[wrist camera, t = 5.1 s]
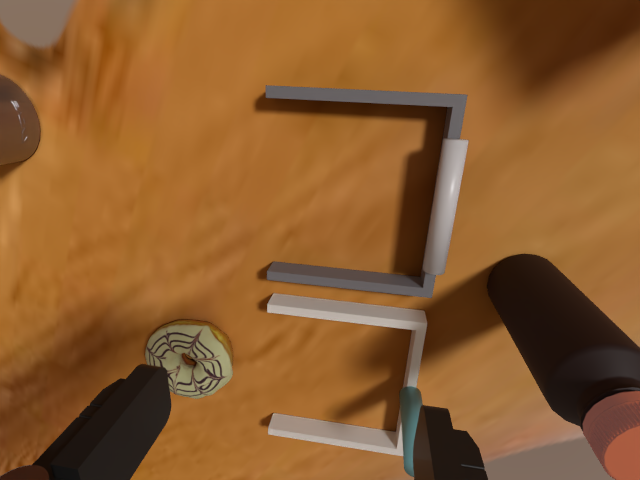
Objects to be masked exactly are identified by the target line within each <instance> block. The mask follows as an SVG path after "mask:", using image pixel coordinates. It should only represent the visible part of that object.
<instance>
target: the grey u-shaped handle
mask: <svg viewBox="0 0 640 480" xmlns="http://www.w3.org/2000/svg"><path fill="white" fill-rule="evenodd" d="M266 98H282V99H302V100H322V101H342V102H361V103H381V104H401V105H421V106H441V107H447V114H446V120H445V126H444V133H443V139H442V145H441V151H440V158H439V164H438V170H437V177H436V183H435V189H434V195H433V202H432V208H431V214H430V221H429V227H428V233H427V239H426V246H425V252H424V258H423V265H422V271H421V277H416V276H407V275H397V274H388V273H378V272H369V271H359V270H350V269H340V268H331V267H321V266H311V265H302V264H292V263H283V262H273V263H272V264H271V266H270V267H269V269H268V270H267V280H274V281H283V282H292V283H301V284H310V285H319V286H328V287H337V288H346V289H355V290H364V291H373V292H382V293H391V294H400V295H409V296H418V297H427V298H432V294H433V288H434V283H435V277H436V275H442V274H444V272H445V267H446V261H447V256H448V250H449V245H450V239H451V234H452V229H453V223H454V218H455V212H456V207H457V201H458V196H459V190H460V185H461V180H462V174H463V169H464V163H465V158H466V152H467V147H468V142H469V140H464V139H460V134H461V129H462V123H463V117H464V112H465V106H466V100H467V95H462V94H440V93H419V92H397V91H375V90H353V89H332V88H310V87H288V86H267V85H266Z"/></svg>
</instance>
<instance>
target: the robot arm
mask: <svg viewBox="0 0 640 480" xmlns="http://www.w3.org/2000/svg"><path fill="white" fill-rule="evenodd" d="M39 140H40V126H39V120H38V117H37V113H36V111H35V109H34V107H33V105H32V103H31V101H30V100H29V98H28V97H27V95H26V94H25V93H24V92H23V91H22V89H21V88H20V87H19V86H18V85H16V84H15V83H14V82H13V81H11V80H10V79H8V78H6V77H4V76H2V75H0V165H4V164H9V163H15V162H20V161H23V160H25V159H28V158H29V157H30V156H31V155H32V154H33V153H34V152H35V150H36V148H37V146H38V143H39ZM170 411H171V398H170V390H169V382H168V374H167V370H166V368H165V367H160V366H153V365H146V364H140V365H139V366H137V367H136V368H135V369H134V371H133V372H132V373H131V374H130V375H129V376H128V377H127V378H126V379H121V378H120V379H119V380H117V381H116V382H114V383H112V384H111V385H109V386H108V387H106V388H105V389H103V390H102V391H101V392H100V393H99V394H98V395H97V397H96V398H95V399H94V400H93V401H92V402H91V403H90V406H87V407H86V408H85V409H84V410H83V411H82V413H81V414H80V416H79V417H78V418H76V419H75V420H74V421H73V422H72V423H71V424H70V425H69V426H68V427H67V428H66V430H65V431H64V432H63V433H62V434H61V435H60V436H59V437H58V438H57V439H56V440H55V441H54V442H53V443H52V444H51V445H50V447H49V448H48V449H47V450H46V451H45V452H44V453H43V454H42V455H41V456H40V457H39V458H38V459H37V460H36V461H35V462H34V463H33V464H32V465H28V466H22V467H19V468H16V469H14V470H11V471H9V472H7V473H5V474H4V475H2V476H0V480H130V479H131V477H132V476H133V474H134V472H135V471H136V469H137V468H138V466H139V465H140V463H141V462H142V460H143V459H144V457H145V455H146V454H147V452H148V451H149V449H150V448H151V446H152V445H153V443H154V442H155V440H156V439H157V437H158V435H159V434H160V432H161V431H162V429H163V428H164V426H165V425H166V423H167V421H168V418H169V415H170ZM413 470H414V480H488V478H487V474H486V471H485V470H484V464H483V460H482V457H481V453H480V450H479V448H478V446H477V445H476V443H475V442H474V441H473V439H472V438H471V436H470V435H469V434H468V432H467V431H461V430H455V429H453V426H452V422H451V418H450V413H449V410H448V409H446V408H439V407H432V406H425V405H422V406H421V408H420V412H419V418H418V423H417V428H416V433H415V439H414V445H413Z"/></svg>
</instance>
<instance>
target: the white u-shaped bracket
mask: <svg viewBox="0 0 640 480" xmlns="http://www.w3.org/2000/svg"><path fill="white" fill-rule="evenodd" d="M267 312H269V313H277V314H286V315H294V316H302V317H310V318H318V319H327V320H335V321H343V322H351V323H359V324H368V325H376V326H384V327H392V328H400V329H408V330H412V334H411V340H410V346H409V353H408V359H407V365H406V371H405V378H404V384H403V388H402V389H401V390H400V393H399V397H400V409H399V415H398V422H397V428H396V432H393V431H387V430H380V429H374V428H367V427H361V426H355V425H348V424H342V423H335V422H329V421H322V420H316V419H310V418H303V417H297V416H290V415H284V414H277V413H273V415H272V418H271V421H270V424H269V427H268V434H270V435H276V436H282V437H288V438H294V439H301V440H307V441H313V442H319V443H325V444H331V445H337V446H343V447H350V448H356V449H362V450H368V451H374V452H380V453H386V454H393V455H399V456H403V457H404V469H405V471H406V473H407V474H409V475H410V476H412V477H414V470H413V445H414V439H415V433H416V428H417V423H418V418H419V412H420V408H421V406H422V405H423V404H422V397H421V392H420V391H419V389H417V388H416V385H417V380H418V374H419V368H420V363H421V357H422V351H423V345H424V340H425V334H426V328H427V319H426V315H425V311H423V310H414V309H406V308H397V307H388V306H380V305H371V304H362V303H354V302H345V301H336V300H328V299H319V298H311V297H302V296H293V295H285V294H276V293H273V295H272V297H271V298H270V300H269V302H268V304H267Z"/></svg>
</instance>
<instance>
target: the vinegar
mask: <svg viewBox="0 0 640 480" xmlns="http://www.w3.org/2000/svg"><path fill="white" fill-rule="evenodd" d="M487 289H488V295H489V297H490V299H491V301H492V303H493V304H494V306H495V308H496V310H497V312H498V314H499V315H500V317H501V319H502V321H503V323H504V324H505V326H506V328H507V330H508V332H509V333H510V335H511V337H512V339H513V341H514V343H515V344H516V346H517V348H518V350H519V352H520V353H521V355H522V357H523V359H524V361H525V363H526V364H527V366H528V368H529V370H530V372H531V373H532V375H533V377H534V379H535V381H536V383H537V384H538V386H539V388H540V390H541V392H542V393H543V395H544V397H545V399H546V400H547V402H548V404H549V405H550V407H551V409H552V410H553V411H554V412H556V413H557V414H558V415H559V416H561V417H562V418H563V419H564V420H566V421H568V422H571V423H573V424H576V425H578V426H580V427H581V429H582V431H583V434H584V436H585V437H586V439H587V441H588V442H589V444H590V446H591V447H592V449H593V451H594V453H595V455H596V456H597V458H598V459H599V461H600V463H601V464H602V466H603V468H604V469H605V471H606V472H607V473H608V474H609V475H610V476H611V477H612V478H614V479H615V480H640V347H638V346H637V345H636V344H635V343H634V342H633V341H632V340H631V339H630V338H629V337H628V336H627V335H626V334H625V333H624V332H623V331H622V330H621V329H620V328H619V327H618V326H617V325H616V324H615V323H614V322H612V321H611V320H610V319H609V318H608V317H607V316H606V315H605V314H604V313H603V312H602V311H601V310H600V309H599V308H598V307H597V306H596V305H595V304H594V303H593V302H592V301H591V300H590V299H589V298H587V297H586V296H585V295H584V294H583V293H582V292H581V291H580V290H579V289H578V288H577V287H576V286H575V285H574V284H573V283H572V282H571V281H570V280H569V279H568V278H567V277H566V276H565V275H564V274H563V273H561V272H560V271H559V270H558V269H557V268H556V267H555V266H554V265H553V264H552V263H551V262H549V261H548V260H547V259H545V258H543V257H540V256H537V255H532V254H521V255H515V256H512V257H510V258H507V259H505V260H503V261H502V262H501V263H499V264H498V265H497V266H496V267H495V268H494V269H493V271H492V273H491V274H490V276H489V280H488V284H487Z"/></svg>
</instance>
